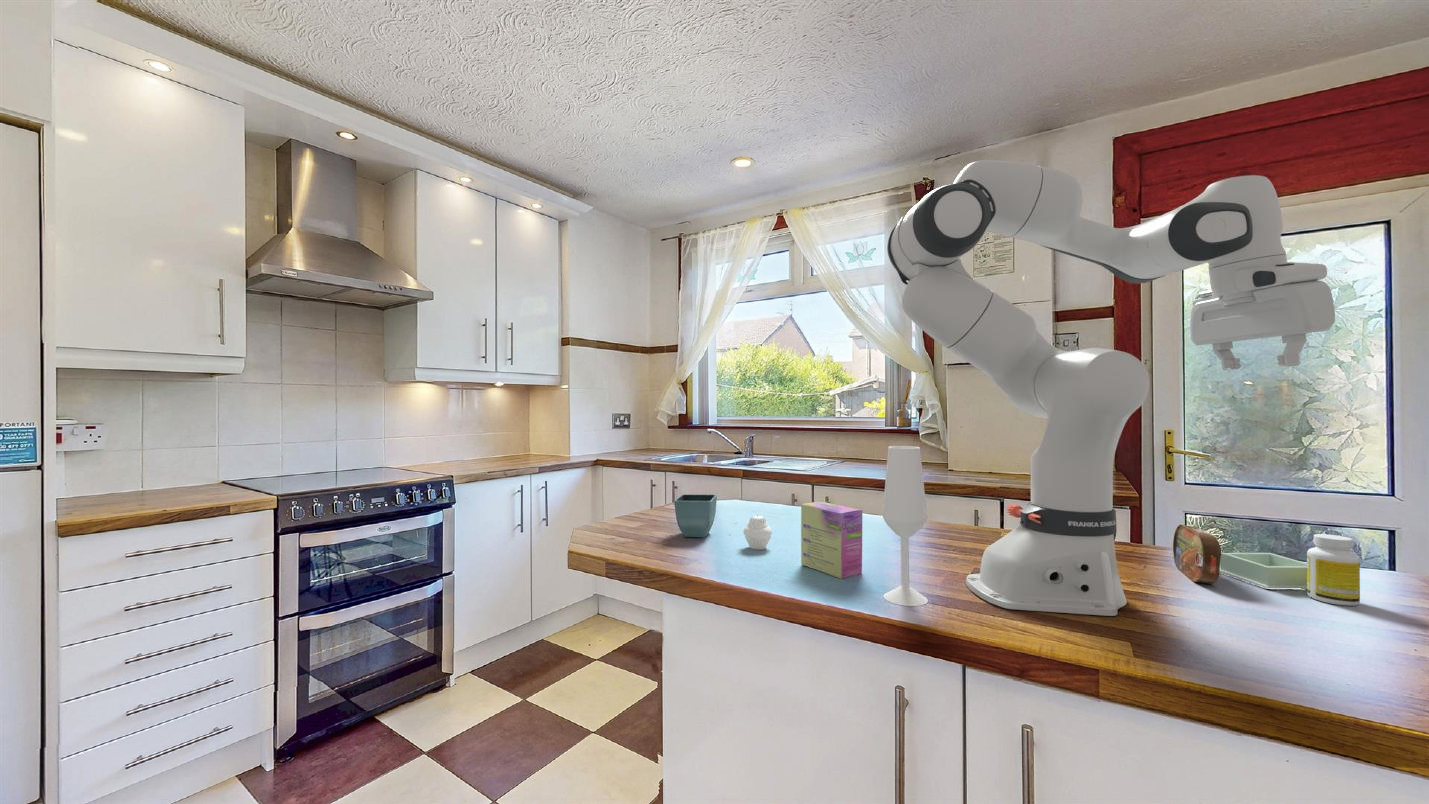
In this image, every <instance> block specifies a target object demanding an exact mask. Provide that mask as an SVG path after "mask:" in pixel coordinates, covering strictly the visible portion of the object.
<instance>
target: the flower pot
mask: <svg viewBox="0 0 1429 804" xmlns="http://www.w3.org/2000/svg"><path fill="white" fill-rule="evenodd" d="M717 497H718V495H717V494H695V493H694V494H692V493H691V494H686V493H685V494H684V493H683V494H681V495H680V496H678V497H677V498H676V499H674V500H673V504H674V512H675V519H676V522H677V526H678V529H679V530H680V532H681V534H682V536H684V538H703V539H704V538H706V537H707V536H708V534H709V533H710V531H711V529H712V526H713V525H714V521H715V518H716V511H717Z"/></svg>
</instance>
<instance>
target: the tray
mask: <svg viewBox="0 0 1429 804" xmlns="http://www.w3.org/2000/svg"><path fill="white" fill-rule="evenodd" d="M1219 572H1220V573H1221V575H1223V574H1226V575H1229V576H1231V577H1236V578H1238V579H1240V580H1244V581H1247V582H1249V583H1253V584H1255V585H1259V586H1262V587H1264V588H1301V589H1307V562H1303V561H1300V560H1297V559H1293V558H1289V557H1286V556H1283V555H1279V554H1276V553H1272V552H1221V558H1220V571H1219ZM1226 575H1225V576H1226ZM1229 576H1228V577H1229ZM1231 577H1230V578H1231ZM1240 580H1239V581H1240Z"/></svg>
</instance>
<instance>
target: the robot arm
mask: <svg viewBox="0 0 1429 804" xmlns="http://www.w3.org/2000/svg"><path fill="white" fill-rule="evenodd" d="M1077 180H1078V179H1076V178H1075V177H1074V176H1072V175H1071V174H1068V173H1066V172H1063V171H1061V170H1059V169H1054V168H1052V167H1047V166H1043V165H1037V164H1032V163H1027V162H1021V161H1012V160H1001V159H1000V160H996V159H982V160H981V159H980V160H977V161H973V162H971V163H969V164H967V165H966V166H965V167H964V168H963V169H962V170H961V171H960V172H959V174H958V175H957V177H956V178H955V180H954V182H953V183H950V184H945V185H943V186H940V187H937V188H935V189H933V190H931V191H930V192H929V193H927V194H925V195H924V196H923V197H922V198H921V199H920V201H919V202H918V203H916V204H915V205H913V206H911V207H910V208H909V209H908V210H907V211H906V212H905V213H904V214H903V216H901V218H900V220H899V221H898V222H897V223H896V225H894V227H893V229H892V231H890V235H889V238H888V240H887V248H886V249H887V251H886V252H887V256H888V258H889V261H890V263H891V265H892V266H893V268H894V269H895V270H896V272H897V275H898V276H899V278H900V280H901V282H902V283H903V284H904V285H906V286H905V287H904V291H903V292H902V293H903V294H902V297H901V307H902V310H903V312H904V314H905V315H907V317H908V318H909V319H910V320H911V321H912V322H913V323H914V324H915V325H916V326H917V327H919V328H920V329H921V330H922V331H923V332H924V333H925V334H927V335H928V337H930V338H932V339H933V340H935V342H937V343H939V344H940V345H941V346H943V347H944V348H945V349H947V350H949V351H951V352H952V353H953V354H954V355H957V356H958V357H960V358H961V359H962V360H964V361H965V362H967V363H969V364H970V365H971V366H973V367H974V368H976V369H977V370H979V371H980V372H981V373H983V374H984V375H985V376H987V377H988V378H989V379H990V380H992V382H994V384H996V386H997V387H998V388H1000V390H1002V392H1004V393H1005V394H1006V395H1007V398H1008V400H1009V401H1010V402H1011V404H1012V405H1013V406H1014V407H1015V408H1016V409H1018V410H1020V411H1021V412H1024V413H1025V414H1028V415H1030V416H1033V417H1036V418H1039V419H1047V421H1046V424H1045V428H1044V432H1043V435H1042V438H1041V441H1040V443H1039V444H1038V446H1037V447H1036V449H1034V451H1033V452H1032V453H1031V455H1030V456H1031V457H1030V462H1029V463H1030V464H1029V465H1030V501H1029V502H1028V503H1027V504H1026V506H1025V507H1024V508H1023V507H1022V506H1020V505H1018V504H1014V503H1010V504H1008V506H1007V507H1006V513H1007V514H1008V515H1009V516H1011V517H1014V518H1020V520H1019V524H1020V525H1018V526H1017V527H1015V528H1014V529H1013V530H1011V531H1010V532H1008V533H1006V534H1005V535H1004V536H1002V537H1001V538H999V539H998V540H996V541H995V542H993V543H992V544H990V545H988V546H987V547H986V548H985V549H984V551H983V554H982V557H981V561H980V570H979V573H971V574H968V575H967V576H966V578H965V579H966V580H965V584H966V586H967V588H968V589H969V590H970V591H971V592H972V593H974V594H975V595H976V596H978V597H980V598H981V599H982V600H984V601H986V602H988V603H990V604H993V605H996V606H998V607H1000V608H1004V609H1007V610H1016V611H1017V610H1020V611H1031V612H1035V611H1036V612H1046V613H1047V612H1048V613H1060V614H1061V613H1065V614H1076V615H1088V616H1089V615H1092V616H1093V615H1094V616H1106V617H1107V616H1108V617H1115V616H1117V615H1118V613H1119V612H1118V609H1119V610H1120V608H1123V607H1124V606H1126V605H1127V601H1128V600H1127V598H1126V595H1125V591H1124V589H1123V586H1122V582H1121V578H1120V574H1119V568H1118V563H1117V556H1116V547H1115V541H1116V537H1117V511H1116V509H1114V508H1113V503H1114V502H1113V498H1114V497H1113V491H1114V489H1113V487H1114V486H1113V485H1114V484H1113V481H1114V462H1115V461H1114V459H1115V455H1116V450H1117V447H1118V444H1119V440H1120V438H1121V435H1122V432H1123V430H1124V428H1125V426H1126V423H1127V422H1128V420H1129V418H1130V417H1131V416H1132V415H1133V414H1134V413H1135V412H1136V411H1137V410H1138V409H1140V408H1141V406H1142V405H1143V404H1144V402H1145V401H1146V399H1147V397H1148V395H1149V391H1150V375H1149V374H1148V371H1147V368H1146V367H1145V365H1144V364H1143V362H1142V361H1141V360H1140V359H1139V358H1137V357H1136V356H1134V355H1133V354H1131V353H1128V352H1125V351H1121V350H1116V349H1112V348H1103V347H1088V348H1083V349H1077V350H1069V351H1067V350H1063V349H1060V348H1057V347H1055V346H1053V345H1052V344H1051V343H1049V342H1048V341H1047V340H1046V339H1045V338H1044V336H1043V335H1042V334H1041V333H1040V332H1039V330H1038V329H1037V325H1036V324H1037V323H1036V320H1035V319H1034V318H1033V316H1031V315H1030V314H1029V313H1027V312H1025V311H1024V310H1022V309H1021V308H1019V307H1017V306H1016V305H1015V304H1013V303H1011V302H1010V301H1009V300H1007V298H1006V299H1005V298H1004V297H1002V296H1001V295H999V294H998V293H996V292H995V291H993V290H991V289H990V288H989V287H987V286H986V285H983V284H982V283H980V282H978V281H976V280H975V279H974V278H973V277H972V276H971V275H970V274H969V273H968V272H967V270H966V268H964V266H963V263H962V261H961V259H960V258H961V257H963V256H964V255H965V254H966V253H968V252H970V251H971V250H973V248H975V247H976V245H978V243H979V242H980V241H981V239H982V238H983V236H984V234H985V233H993V234H994V235H995V234H996V235H1000V236H1004V237H1009V238H1013V239H1015V240H1016V239H1017V240H1020V241H1026V242H1031V243H1033V244H1036V245H1039V246H1040V247H1043V248H1045V249H1049V250H1051V251H1054V252H1057V253H1060V254H1064V255H1067V256H1070V257H1073V258H1076V259H1080V260H1083V261H1086V262H1090V263H1093V264H1096V265H1098V266H1101V267H1103V268H1104V269H1106V270H1107V271H1109V272H1110V273H1112V274H1113V275H1114V276H1115V277H1118V278H1119V279H1120V280H1122V281H1124V282H1127V283H1130V284H1138V285H1139V284H1146V283H1150V282H1152V281H1155V280H1158V279H1160V278H1163V277H1165V276H1167V275H1171V274H1173V273H1178V272H1182V271H1184V270H1187V269H1191V268H1195V267H1197V266H1201V265H1204V264H1208V276H1209V282H1210V283H1209V284H1210V290H1203V291H1200V292H1199V293H1198V294H1197V296H1196V297H1195V298H1194V300H1193V301H1192V308H1191V311H1190V321H1189V323H1190V324H1189V325H1190V328H1189V329H1190V330H1189V331H1190V340H1191V341H1192V343H1193V344H1194V345H1195V346H1205V345H1212V351H1213V353H1214V354H1215V356H1217V358H1218V359H1219V360H1220V361H1221V368H1222V370H1224V371H1232V370H1233V371H1234V370H1240V368H1241V367H1242V366H1241V359H1240V358H1239V357H1238V358H1236V357H1235V355H1234V354H1233V352H1232V350H1231V349H1233V348H1234V345H1233V342H1241V341H1249V340H1258V339H1259V340H1260V339H1268V338H1275V337H1277V338H1278V337H1281V342H1282V344H1285V346H1284V350H1283V351H1282V352H1283V353H1282V354H1281V355H1280V354H1279V355H1277V356H1276V358H1277V361H1278V363H1277V364H1278V366H1279V367H1280V368H1285V367H1297V366H1299V365H1300V364H1301V359H1300V354H1301V352H1302V350H1303V349H1304V347H1305V344H1306V342H1307V335H1306V334H1311V333H1319V332H1327V331H1329V330H1330V329H1332V327H1333V325H1334V324H1335V321H1336V312H1335V311H1336V309H1335V303H1334V299H1333V298H1334V297H1333V294H1332V291H1331V290H1332V289H1331V288H1330V285H1328V283H1326V282H1325V281H1322V280H1323V279H1325V278H1326V277H1327V276H1328V270H1327V266H1326V265H1325V264H1322V263H1308V262H1295V261H1289V262H1288V259H1287V253H1286V250H1285V248H1284V247H1283V244H1282V239H1281V236H1282V232H1283V227H1284V225H1283V218H1282V211H1281V205H1280V201H1279V198H1278V193H1277V191H1276V189H1275V187H1274V184H1273V183H1272V182H1271V180H1270V179H1269V178H1268V177H1267V176H1264V175H1259V174H1258V175H1257V174H1243V175H1238V176H1232V177H1231V176H1230V177H1226V178H1223V179H1220V180H1218V181H1215V182H1213V183H1211V184H1209V185H1208V186H1207V187H1206V188H1205V190H1204V191H1203V192H1202V193H1200V194H1199V195H1198V196H1197V197H1195V198H1193V199H1192V200H1190V201H1188V202H1186V203H1185V204H1183V205H1181V206H1178V207H1177V208H1174V209H1172V210H1171V211H1168V212H1166V213H1163V214H1162V215H1160V216H1157V217H1155V218H1152V219H1150V220H1148V221H1146V222H1142V223H1140V224H1137V225H1133V226H1129V227H1128V226H1127V227H1122V228H1121V227H1120V228H1119V227H1113V226H1109V225H1107V224H1103V223H1100V222H1097V221H1094V220H1090V219H1087V218H1084V217H1082V216H1080V215H1081V210H1082V205H1083V191H1082V188H1081V186H1080V184H1079V182H1078V181H1077Z"/></svg>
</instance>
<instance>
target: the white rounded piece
mask: <svg viewBox="0 0 1429 804" xmlns="http://www.w3.org/2000/svg"><path fill="white" fill-rule="evenodd" d="M772 534H773V530H772V528H771V527H770V526H769V524H768V523H767V519H766V518H765V517H764V516H761V515H759V514H757V515H754V516H752V517H750V518H749V522H748V524H747V525H746V526H745V527H744V529H743V535H744V538H745V540H746V542H747V544H748V546H749V548H750V549H752V550H758V551H759V550H761V551H762V550H765V549H766V548H767V545H768V544H769V542H770V540H771V537H772Z"/></svg>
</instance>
